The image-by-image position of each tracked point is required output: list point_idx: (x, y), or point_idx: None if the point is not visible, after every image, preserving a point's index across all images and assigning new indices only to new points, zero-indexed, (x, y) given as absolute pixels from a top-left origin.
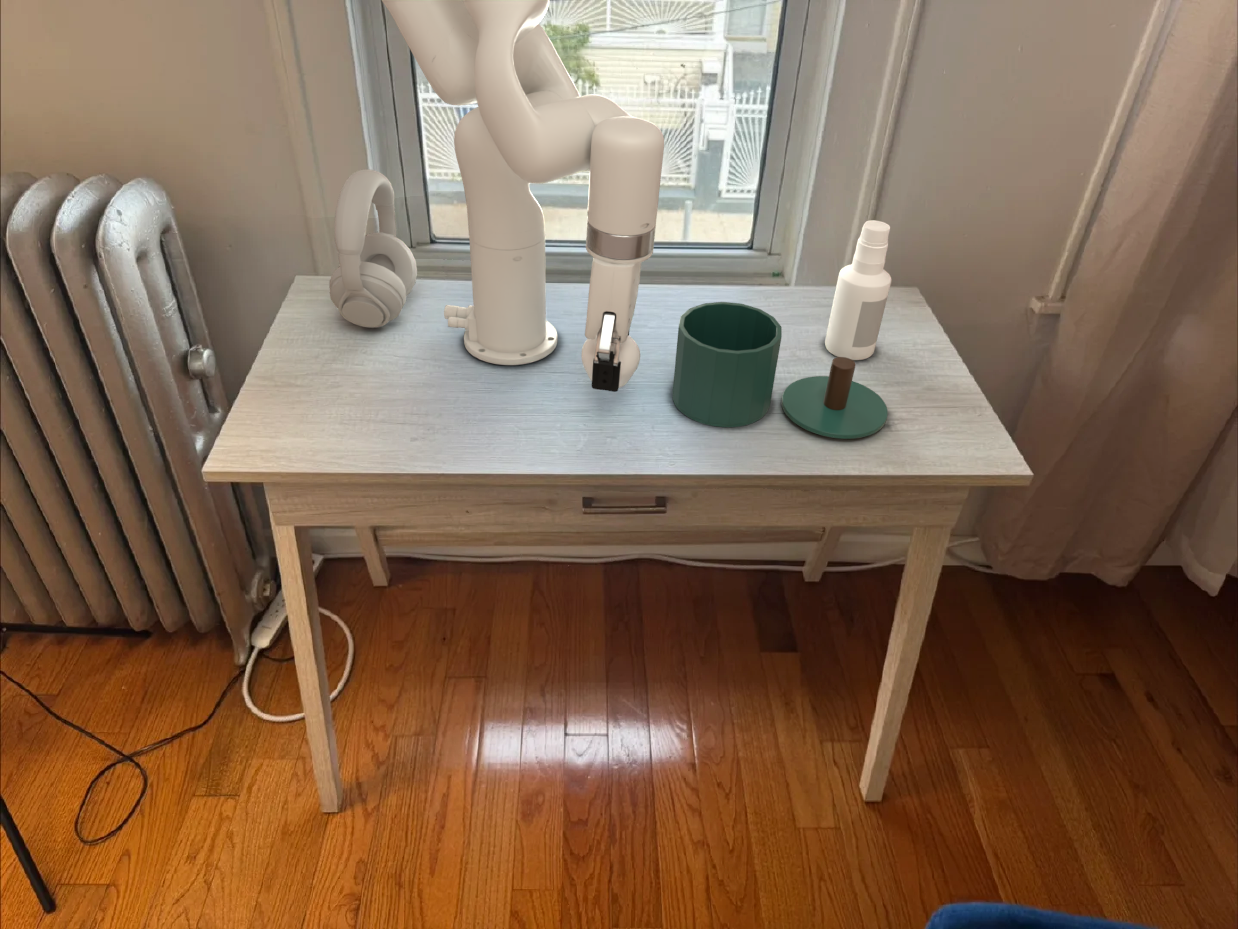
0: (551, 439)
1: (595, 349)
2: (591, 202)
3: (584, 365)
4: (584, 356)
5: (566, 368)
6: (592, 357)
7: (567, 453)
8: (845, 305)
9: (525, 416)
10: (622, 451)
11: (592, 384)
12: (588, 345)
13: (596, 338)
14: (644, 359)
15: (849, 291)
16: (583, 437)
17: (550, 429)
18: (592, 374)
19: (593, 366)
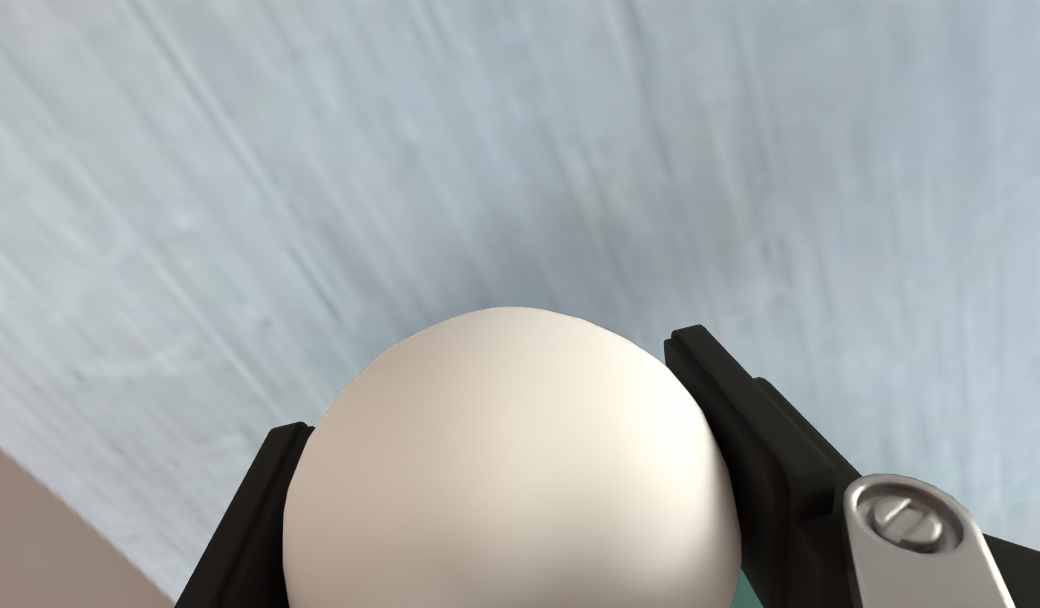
0: (55, 240)
1: (321, 602)
2: None
3: (343, 388)
4: (326, 437)
5: (683, 34)
6: (289, 541)
7: (21, 347)
8: None
9: (129, 12)
10: (199, 504)
11: (268, 443)
12: (381, 506)
13: (479, 577)
14: (836, 341)
15: None
16: (177, 356)
17: (124, 200)
18: (233, 501)
19: (201, 569)
